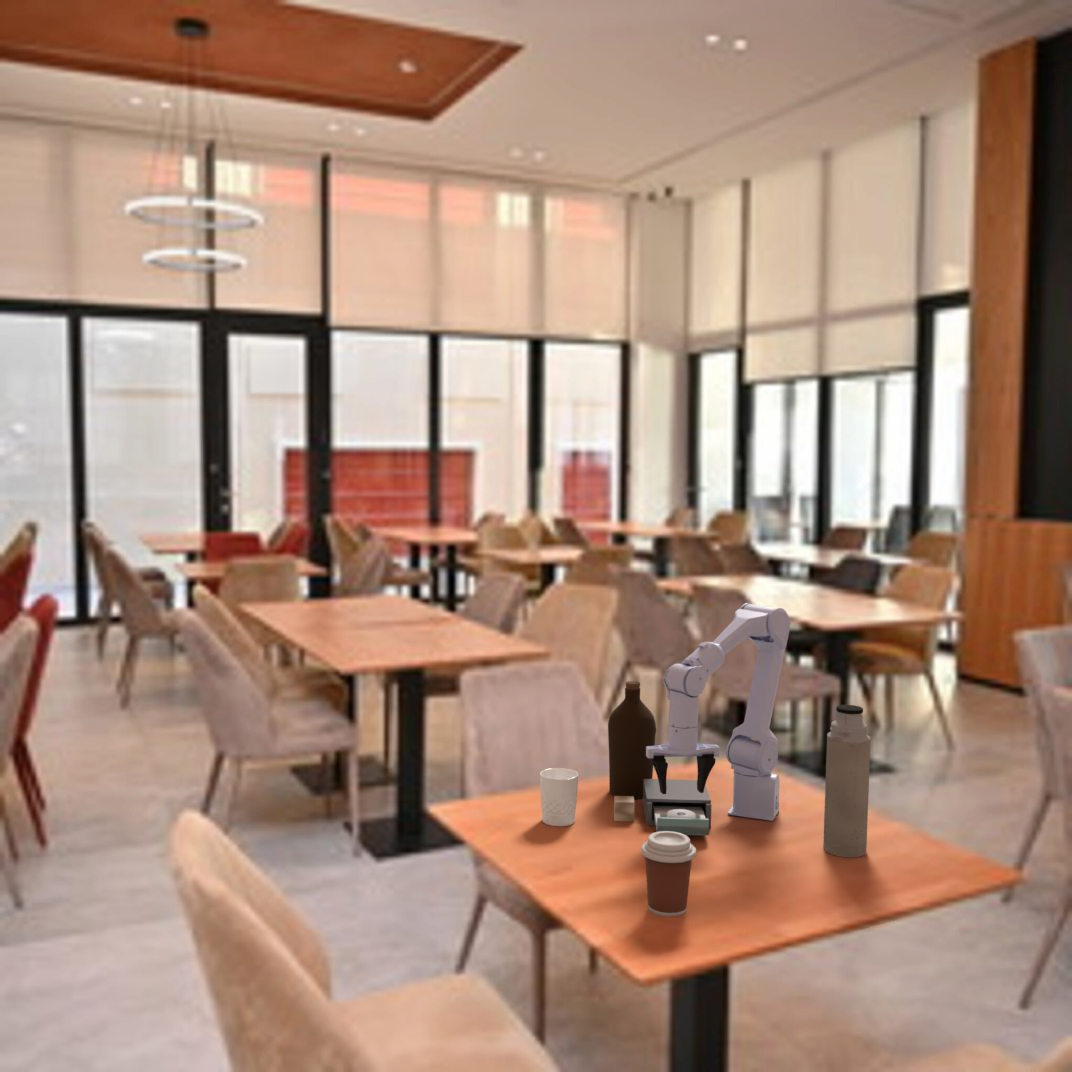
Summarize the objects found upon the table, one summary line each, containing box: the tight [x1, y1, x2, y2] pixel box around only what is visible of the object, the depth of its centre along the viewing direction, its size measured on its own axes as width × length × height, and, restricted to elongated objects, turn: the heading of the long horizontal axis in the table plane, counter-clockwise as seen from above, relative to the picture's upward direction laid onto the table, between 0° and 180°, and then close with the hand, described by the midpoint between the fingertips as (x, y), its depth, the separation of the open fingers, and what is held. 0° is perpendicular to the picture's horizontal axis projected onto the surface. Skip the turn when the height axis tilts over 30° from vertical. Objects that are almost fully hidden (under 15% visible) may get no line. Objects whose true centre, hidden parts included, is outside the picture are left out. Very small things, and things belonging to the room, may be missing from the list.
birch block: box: [613, 795, 635, 823], centre depth 221 cm, size 4×4×4 cm
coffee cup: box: [640, 831, 697, 918], centre depth 177 cm, size 9×9×12 cm
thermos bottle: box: [822, 704, 872, 858], centre depth 204 cm, size 8×8×28 cm
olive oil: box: [607, 680, 657, 800], centre depth 237 cm, size 11×11×25 cm
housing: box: [642, 778, 712, 828], centre depth 224 cm, size 13×14×5 cm
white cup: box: [539, 767, 579, 827], centre depth 219 cm, size 8×8×10 cm
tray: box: [653, 806, 710, 836], centre depth 214 cm, size 10×12×3 cm
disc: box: [667, 809, 695, 818], centre depth 213 cm, size 6×6×2 cm
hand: (681, 792), depth 212 cm, fingers open, 7 cm apart
